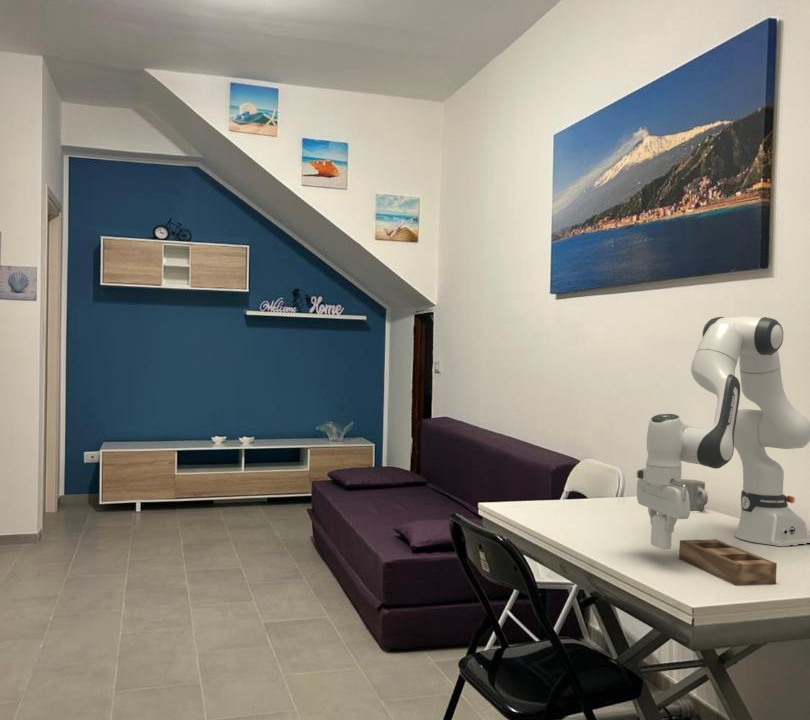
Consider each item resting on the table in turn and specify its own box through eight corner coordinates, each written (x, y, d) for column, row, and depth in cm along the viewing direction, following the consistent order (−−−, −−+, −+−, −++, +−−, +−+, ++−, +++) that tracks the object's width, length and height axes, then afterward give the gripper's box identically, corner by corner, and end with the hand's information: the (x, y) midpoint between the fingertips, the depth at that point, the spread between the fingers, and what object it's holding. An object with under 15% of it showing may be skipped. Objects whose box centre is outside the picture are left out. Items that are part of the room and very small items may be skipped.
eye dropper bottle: (666, 544, 209) (668, 499, 209) (672, 550, 204) (674, 504, 203) (649, 543, 210) (651, 498, 209) (655, 549, 204) (657, 503, 203)
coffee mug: (669, 506, 288) (670, 478, 288) (694, 506, 289) (695, 479, 289) (688, 513, 275) (689, 485, 275) (714, 513, 276) (715, 485, 276)
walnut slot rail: (715, 557, 213) (716, 539, 213) (775, 583, 190) (776, 563, 190) (679, 558, 211) (679, 540, 211) (735, 585, 187) (736, 564, 187)
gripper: (697, 483, 197) (695, 538, 197) (654, 469, 217) (652, 519, 217) (674, 483, 195) (672, 539, 196) (633, 470, 215) (631, 520, 216)
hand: (661, 528), depth 206 cm, fingers closed on eye dropper bottle, 6 cm apart
